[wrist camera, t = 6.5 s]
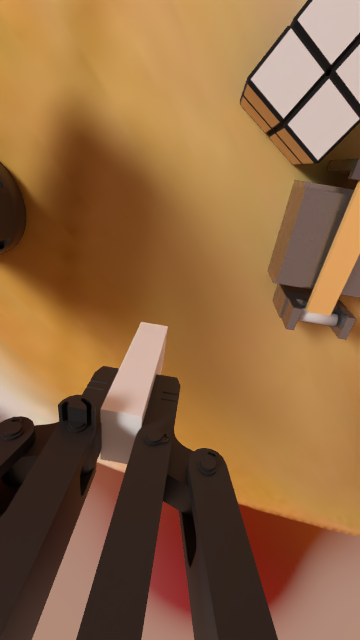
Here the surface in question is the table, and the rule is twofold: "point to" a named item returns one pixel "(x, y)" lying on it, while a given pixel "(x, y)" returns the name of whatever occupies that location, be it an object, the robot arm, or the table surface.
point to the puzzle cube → (309, 82)
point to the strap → (336, 267)
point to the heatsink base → (312, 247)
